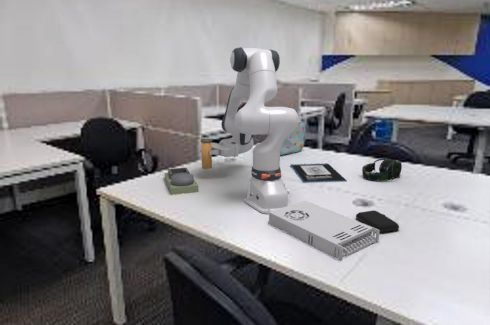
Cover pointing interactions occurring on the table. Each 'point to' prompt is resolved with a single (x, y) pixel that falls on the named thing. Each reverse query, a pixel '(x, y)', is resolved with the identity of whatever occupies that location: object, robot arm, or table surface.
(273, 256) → the table surface
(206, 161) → the orange pill bottle
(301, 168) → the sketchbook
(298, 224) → the power supply unit
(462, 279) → the table surface
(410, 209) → the table surface
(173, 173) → the green slab
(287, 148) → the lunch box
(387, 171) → the headphones
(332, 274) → the table surface
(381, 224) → the carrying case or bag
